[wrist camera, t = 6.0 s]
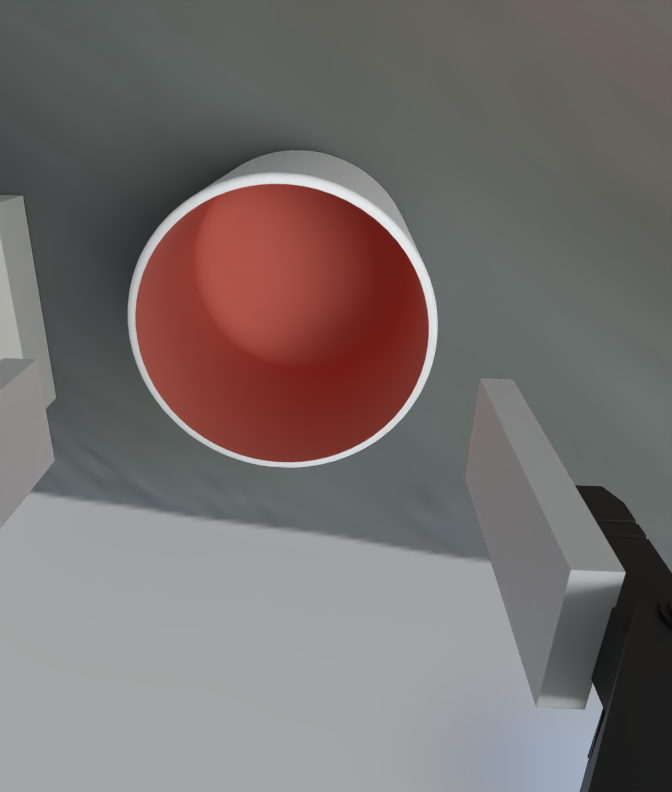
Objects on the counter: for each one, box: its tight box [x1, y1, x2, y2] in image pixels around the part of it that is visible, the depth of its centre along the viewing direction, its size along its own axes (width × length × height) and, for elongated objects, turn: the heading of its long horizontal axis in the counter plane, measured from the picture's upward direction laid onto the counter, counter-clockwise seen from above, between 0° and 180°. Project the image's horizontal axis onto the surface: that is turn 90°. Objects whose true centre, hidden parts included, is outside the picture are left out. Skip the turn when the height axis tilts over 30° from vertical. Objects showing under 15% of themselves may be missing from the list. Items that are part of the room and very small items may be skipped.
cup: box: [128, 150, 438, 468], centre depth 25 cm, size 10×10×10 cm
